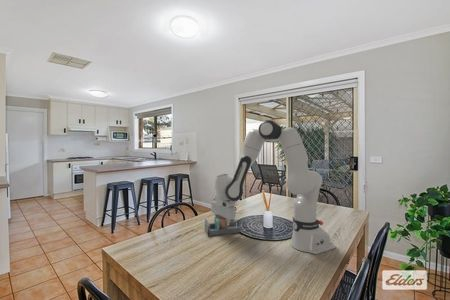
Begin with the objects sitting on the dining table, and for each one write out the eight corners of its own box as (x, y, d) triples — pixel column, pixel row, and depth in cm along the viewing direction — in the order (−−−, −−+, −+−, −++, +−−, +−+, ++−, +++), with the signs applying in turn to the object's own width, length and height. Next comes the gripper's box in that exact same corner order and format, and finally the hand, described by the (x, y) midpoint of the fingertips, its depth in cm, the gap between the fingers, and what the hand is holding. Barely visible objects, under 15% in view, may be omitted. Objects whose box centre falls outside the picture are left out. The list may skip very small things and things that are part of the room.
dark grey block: (235, 225, 142) (235, 216, 142) (240, 232, 131) (240, 222, 131) (204, 228, 137) (204, 219, 137) (208, 236, 126) (207, 226, 126)
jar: (227, 227, 138) (227, 213, 138) (228, 231, 131) (228, 217, 131) (217, 227, 138) (217, 213, 137) (217, 232, 131) (217, 217, 131)
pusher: (216, 227, 138) (216, 216, 137) (219, 232, 130) (219, 221, 129) (214, 227, 137) (214, 216, 137) (217, 233, 129) (217, 221, 129)
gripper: (208, 198, 139) (208, 219, 140) (229, 205, 124) (229, 229, 124) (216, 196, 143) (216, 217, 144) (237, 203, 128) (237, 226, 128)
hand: (222, 223), depth 134 cm, fingers open, 8 cm apart
